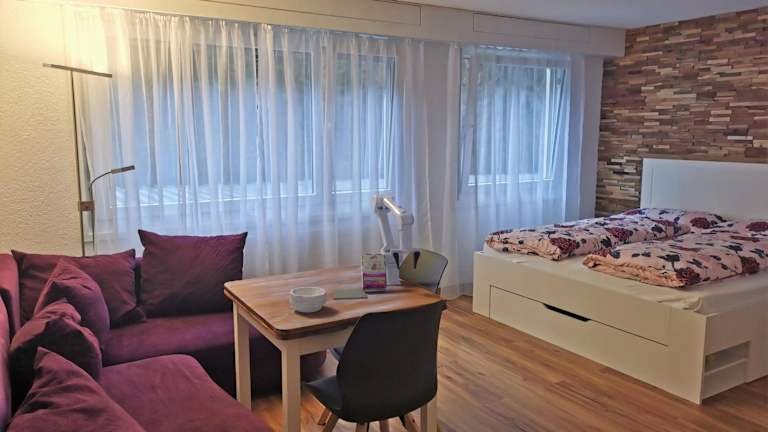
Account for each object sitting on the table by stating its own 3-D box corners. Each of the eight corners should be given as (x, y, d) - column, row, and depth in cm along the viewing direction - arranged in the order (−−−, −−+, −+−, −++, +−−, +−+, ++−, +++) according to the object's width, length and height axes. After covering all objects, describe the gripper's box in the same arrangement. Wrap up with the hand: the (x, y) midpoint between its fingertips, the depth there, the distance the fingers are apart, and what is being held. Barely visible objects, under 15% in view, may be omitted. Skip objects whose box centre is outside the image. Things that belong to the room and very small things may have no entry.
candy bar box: (385, 290, 276) (383, 257, 283) (387, 287, 271) (385, 253, 278) (361, 290, 274) (360, 256, 281) (362, 286, 269) (361, 253, 276)
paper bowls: (334, 309, 247) (334, 291, 246) (304, 317, 236) (304, 298, 235) (311, 302, 258) (311, 284, 256) (282, 309, 247) (282, 290, 246)
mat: (332, 290, 275) (332, 289, 275) (363, 289, 277) (363, 288, 276) (333, 299, 261) (333, 298, 261) (366, 298, 263) (366, 297, 263)
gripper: (391, 241, 267) (392, 271, 268) (423, 239, 269) (423, 269, 270) (389, 239, 274) (390, 268, 275) (420, 237, 276) (420, 266, 277)
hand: (406, 268), depth 273 cm, fingers open, 7 cm apart
